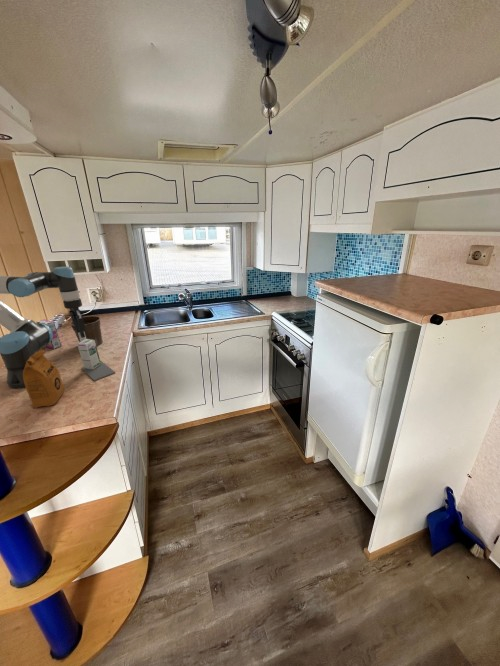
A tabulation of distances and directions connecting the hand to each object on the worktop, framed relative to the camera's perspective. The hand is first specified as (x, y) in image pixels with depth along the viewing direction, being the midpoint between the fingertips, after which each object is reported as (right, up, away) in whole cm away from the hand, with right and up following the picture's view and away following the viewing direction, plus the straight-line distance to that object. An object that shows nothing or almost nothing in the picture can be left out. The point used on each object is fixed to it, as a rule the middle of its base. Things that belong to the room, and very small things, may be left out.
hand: (84, 342), depth 141 cm
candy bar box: (-36, -3, +26) cm, 45 cm away
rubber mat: (+9, -14, -3) cm, 17 cm away
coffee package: (+1, -24, -24) cm, 34 cm away
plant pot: (-12, -2, +28) cm, 31 cm away
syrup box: (+4, -13, +1) cm, 13 cm away
